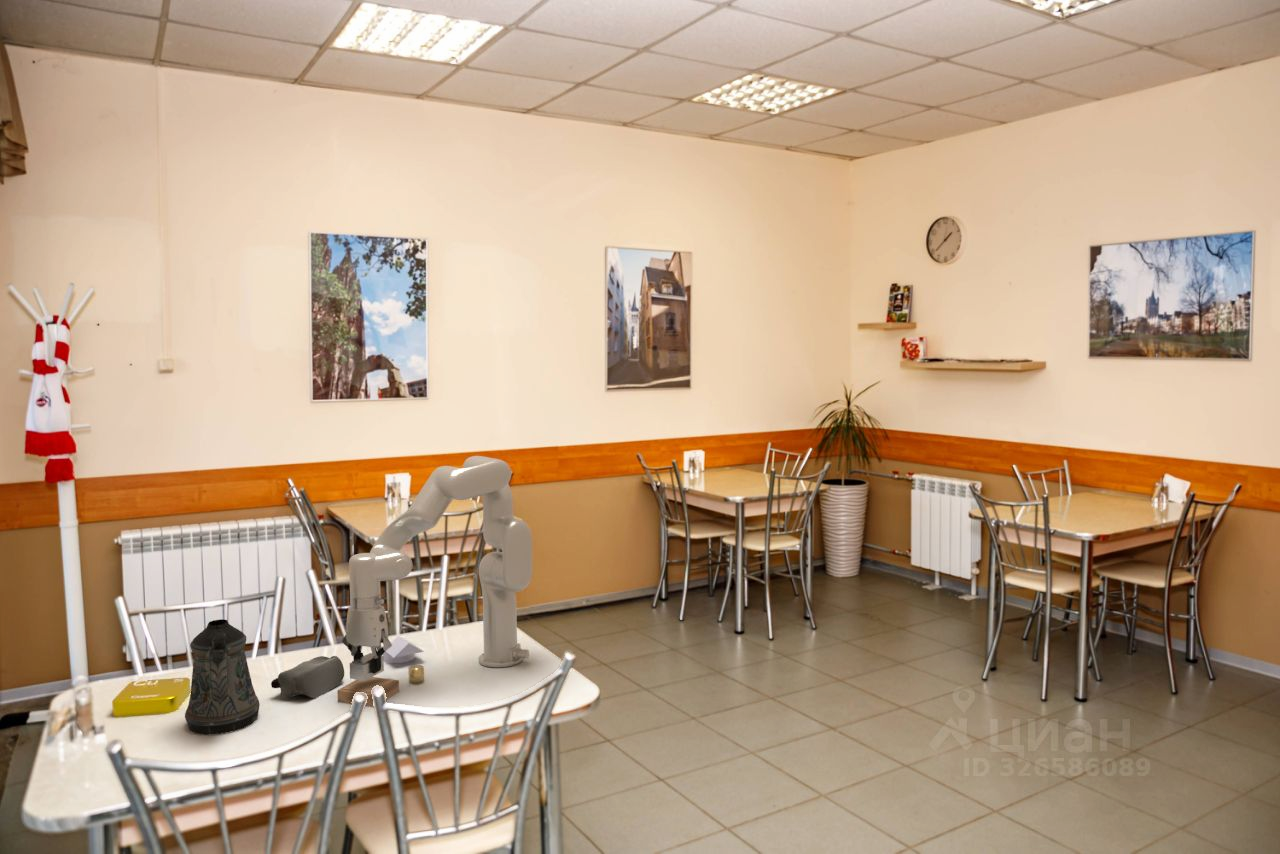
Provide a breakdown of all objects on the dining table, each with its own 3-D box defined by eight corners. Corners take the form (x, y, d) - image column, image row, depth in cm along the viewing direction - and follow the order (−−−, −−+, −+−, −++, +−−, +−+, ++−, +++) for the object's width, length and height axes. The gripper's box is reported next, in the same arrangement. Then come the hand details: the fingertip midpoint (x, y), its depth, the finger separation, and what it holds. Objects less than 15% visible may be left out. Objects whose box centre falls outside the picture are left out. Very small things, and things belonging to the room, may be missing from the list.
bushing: (427, 680, 252) (426, 665, 251) (419, 685, 248) (418, 670, 248) (414, 678, 253) (413, 664, 253) (406, 683, 249) (405, 669, 249)
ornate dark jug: (239, 703, 237) (234, 607, 235) (279, 722, 224) (274, 621, 222) (173, 723, 224) (167, 623, 222) (211, 745, 212) (206, 638, 210)
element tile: (110, 719, 228) (109, 700, 228) (131, 696, 243) (130, 679, 242) (175, 714, 231) (174, 695, 231) (192, 692, 246) (191, 674, 245)
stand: (399, 691, 244) (398, 679, 243) (374, 706, 233) (373, 694, 233) (363, 686, 247) (363, 674, 247) (337, 701, 237) (337, 689, 237)
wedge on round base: (424, 662, 266) (408, 650, 276) (424, 640, 265) (407, 628, 276) (394, 669, 260) (378, 656, 271) (393, 646, 260) (378, 634, 271)
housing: (363, 680, 235) (363, 663, 235) (350, 678, 237) (349, 661, 236) (383, 670, 242) (383, 654, 242) (370, 668, 244) (369, 652, 244)
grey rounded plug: (317, 675, 256) (316, 648, 256) (351, 680, 252) (349, 652, 252) (269, 699, 239) (268, 670, 239) (304, 705, 235) (302, 675, 235)
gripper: (402, 600, 239) (403, 669, 240) (346, 595, 244) (349, 662, 246) (385, 608, 232) (387, 679, 233) (328, 602, 237) (331, 672, 239)
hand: (367, 670), depth 240 cm, fingers closed on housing, 4 cm apart
